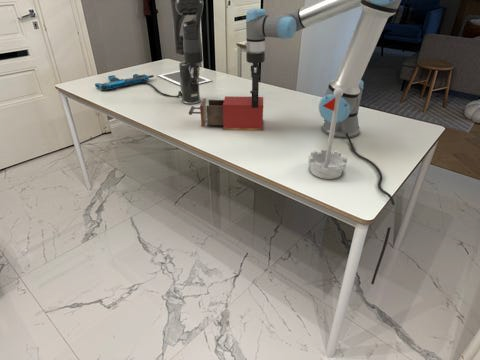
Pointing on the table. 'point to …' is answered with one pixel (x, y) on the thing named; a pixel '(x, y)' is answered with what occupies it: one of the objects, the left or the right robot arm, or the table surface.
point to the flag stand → (329, 148)
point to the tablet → (176, 78)
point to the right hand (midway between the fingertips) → (255, 102)
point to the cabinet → (242, 113)
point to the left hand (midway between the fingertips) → (196, 91)
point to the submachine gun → (122, 81)
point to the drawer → (210, 112)
